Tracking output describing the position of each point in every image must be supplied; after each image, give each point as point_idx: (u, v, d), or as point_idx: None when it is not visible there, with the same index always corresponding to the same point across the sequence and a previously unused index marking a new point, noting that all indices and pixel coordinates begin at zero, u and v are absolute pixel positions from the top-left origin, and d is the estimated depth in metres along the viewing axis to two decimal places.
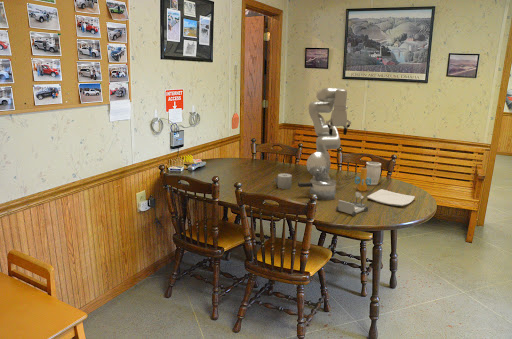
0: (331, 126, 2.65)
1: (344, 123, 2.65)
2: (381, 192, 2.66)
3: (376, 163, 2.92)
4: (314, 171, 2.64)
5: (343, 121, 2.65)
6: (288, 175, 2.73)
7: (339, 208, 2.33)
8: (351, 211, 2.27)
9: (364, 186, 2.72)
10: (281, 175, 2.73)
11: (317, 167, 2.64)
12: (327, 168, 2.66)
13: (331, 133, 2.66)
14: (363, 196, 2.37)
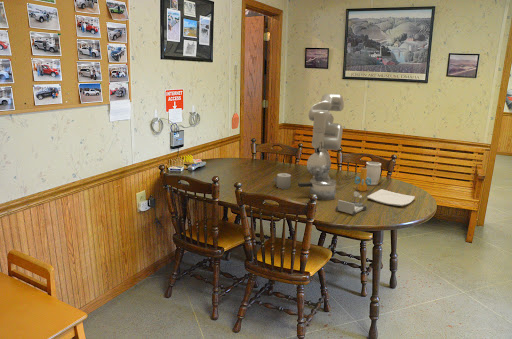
0: (320, 150, 2.65)
1: None
2: (381, 192, 2.66)
3: (376, 163, 2.92)
4: (315, 171, 2.64)
5: None
6: (287, 175, 2.74)
7: (339, 208, 2.33)
8: (351, 211, 2.28)
9: (364, 186, 2.72)
10: (280, 175, 2.74)
11: (317, 167, 2.64)
12: (327, 168, 2.65)
13: None
14: None
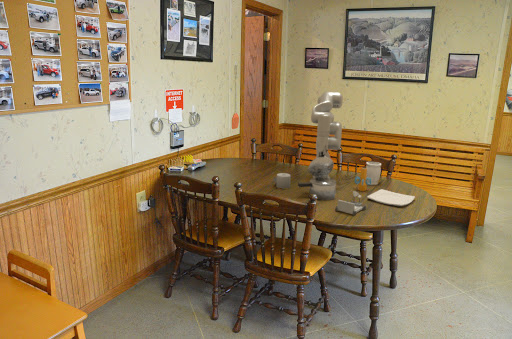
0: None
1: None
2: (381, 192, 2.66)
3: (376, 163, 2.92)
4: (315, 173, 2.62)
5: None
6: (287, 175, 2.74)
7: (338, 208, 2.33)
8: (351, 211, 2.28)
9: (364, 186, 2.72)
10: (280, 175, 2.74)
11: (319, 169, 2.61)
12: (329, 170, 2.63)
13: None
14: None
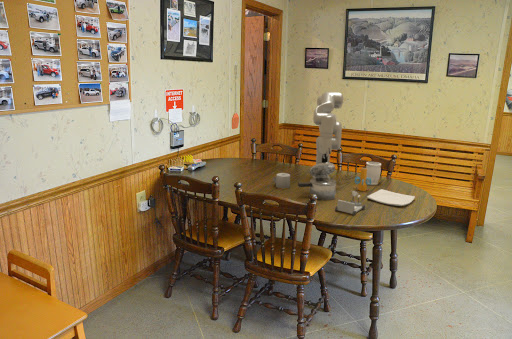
0: None
1: None
2: (381, 192, 2.67)
3: (376, 163, 2.92)
4: (316, 174, 2.62)
5: None
6: (287, 174, 2.75)
7: (338, 208, 2.33)
8: (351, 210, 2.28)
9: (364, 186, 2.72)
10: (280, 174, 2.74)
11: (319, 172, 2.59)
12: (330, 172, 2.62)
13: None
14: (360, 195, 2.39)
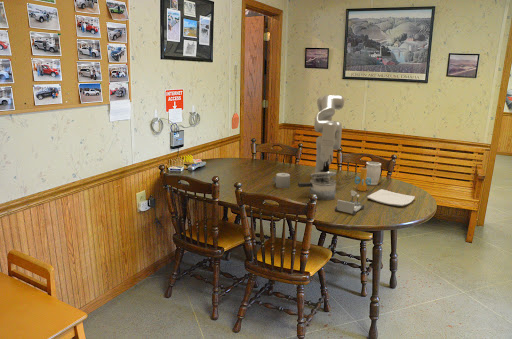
0: (329, 164, 2.50)
1: None
2: (381, 192, 2.67)
3: (376, 163, 2.92)
4: (316, 176, 2.61)
5: None
6: (286, 174, 2.75)
7: (338, 208, 2.33)
8: (351, 210, 2.28)
9: (364, 186, 2.72)
10: (279, 174, 2.74)
11: (320, 175, 2.58)
12: (330, 175, 2.61)
13: (328, 170, 2.52)
14: None
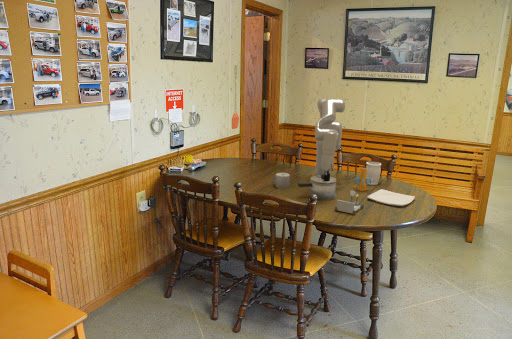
0: None
1: None
2: (381, 192, 2.66)
3: (376, 163, 2.92)
4: None
5: None
6: (286, 174, 2.75)
7: (338, 208, 2.33)
8: (351, 210, 2.29)
9: (364, 186, 2.72)
10: (279, 174, 2.75)
11: None
12: None
13: (329, 179, 2.51)
14: None
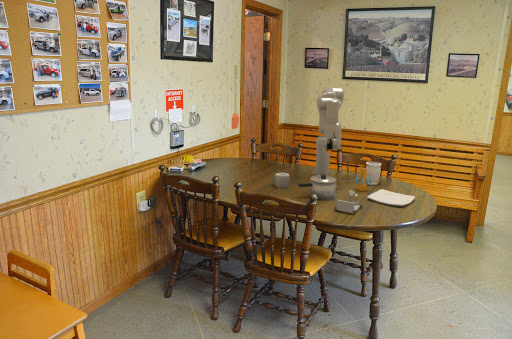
0: (333, 141, 2.52)
1: None
2: (381, 192, 2.67)
3: (376, 163, 2.92)
4: None
5: None
6: (286, 174, 2.75)
7: (337, 208, 2.33)
8: (351, 210, 2.29)
9: (364, 186, 2.72)
10: (279, 174, 2.75)
11: None
12: None
13: (332, 148, 2.54)
14: (357, 194, 2.41)
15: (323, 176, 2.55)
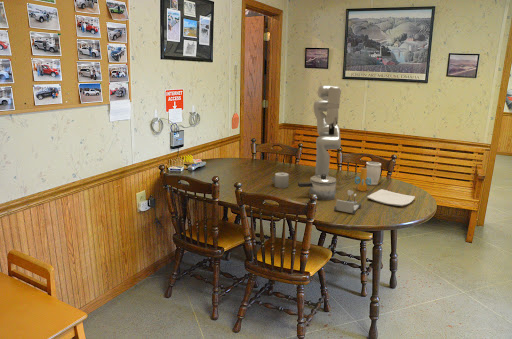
0: (334, 126, 2.64)
1: None
2: (381, 192, 2.67)
3: (376, 163, 2.92)
4: None
5: None
6: (285, 174, 2.76)
7: (337, 208, 2.33)
8: (351, 210, 2.29)
9: (364, 186, 2.72)
10: (278, 174, 2.75)
11: None
12: None
13: (334, 133, 2.66)
14: None
15: (323, 176, 2.55)
